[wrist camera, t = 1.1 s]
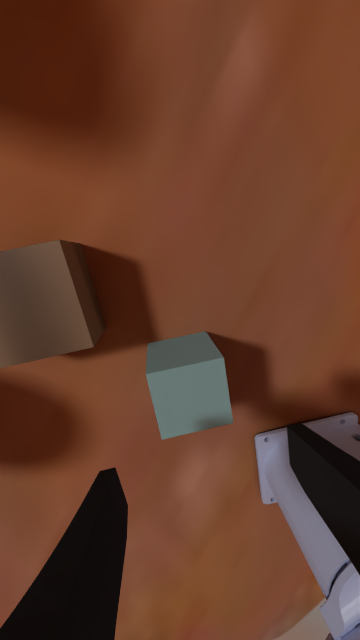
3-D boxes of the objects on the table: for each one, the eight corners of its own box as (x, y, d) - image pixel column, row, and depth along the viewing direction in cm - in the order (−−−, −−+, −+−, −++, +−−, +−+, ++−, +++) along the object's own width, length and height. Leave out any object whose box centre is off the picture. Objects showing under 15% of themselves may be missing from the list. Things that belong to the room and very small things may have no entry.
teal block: (205, 331, 18) (223, 357, 14) (213, 382, 20) (233, 422, 15) (147, 343, 18) (145, 374, 13) (159, 394, 19) (161, 439, 15)
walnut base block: (81, 243, 16) (59, 239, 12) (106, 327, 18) (93, 347, 14) (-10, 262, 16) (-62, 264, 12) (24, 345, 17) (-12, 370, 14)
